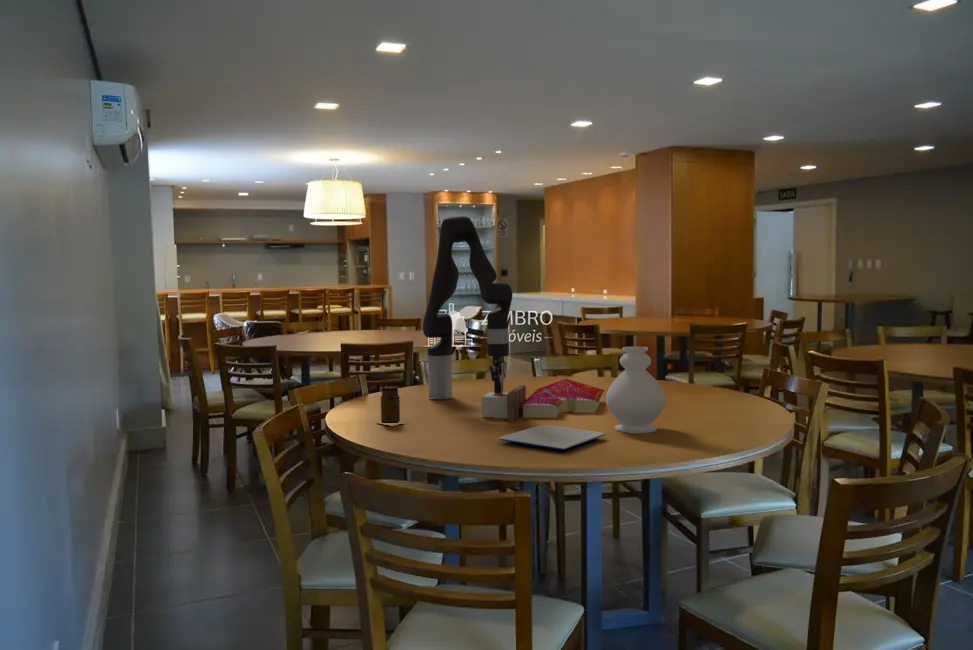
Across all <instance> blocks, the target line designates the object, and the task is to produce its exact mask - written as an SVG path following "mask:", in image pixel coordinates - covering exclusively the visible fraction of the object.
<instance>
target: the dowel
mask: <svg viewBox="0 0 973 650" xmlns="http://www.w3.org/2000/svg"><path fill="white" fill-rule="evenodd" d="M499 373H500V372H499ZM496 377H497V376H496ZM503 393H504V381H503V374H502V375H501V393H495V396H503Z"/></svg>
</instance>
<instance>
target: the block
mask: <svg viewBox="0 0 973 650" xmlns="http://www.w3.org/2000/svg"><path fill="white" fill-rule="evenodd" d="M508 393H509V392H503V396H495V392H494V391H491V392H487V393H486V394H484V395H482V396H481V418H482V417H494V418H493V419H507V394H508Z"/></svg>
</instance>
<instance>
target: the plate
mask: <svg viewBox="0 0 973 650" xmlns="http://www.w3.org/2000/svg"><path fill="white" fill-rule="evenodd" d="M606 435H607V433H605V432H600V431H594V430H589V429H588V430H585V429H579V428H572V427H566V426H558V425H557V426H556V425H550V424H540V425H536V426H533V427H529V428H526V429H523V430H519V431H516V432H513V433H509V434H506V435H503V436H499V437H498V439H499V440H500V441H504V442H510V443H515V444H521V445H528V446H533V447H534V446H535V447H539V448H547V449H553V450H558V451H561V450H563V451H565V450H568V449H570V448H573V447H576V446H579V445H581V444H584V443H587V442H591V441H593V440H596V439H598V438H601V437H604V436H606Z"/></svg>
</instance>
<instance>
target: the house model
mask: <svg viewBox="0 0 973 650" xmlns="http://www.w3.org/2000/svg"><path fill="white" fill-rule="evenodd" d="M604 392H605V389H602V388H599V387H596V386H592V385H589V384H585V383H582V382H579V381H575V380H572V379H568V378H564V379H561V380H559V381H555V382H553V383H550V384H547V385H545V386H542V387H540V388H537V389H536V390H535V391H534V392H533V393H532V394H530V395H529V396H528V397H527V398H526V400H525V401H524V402H523V403H522V404H521V405H520V406H522V405H523V414H522V417H523V418H531V419H532V418H535V419H536V418H537V419H539V418H541V419H556V418H557V417H558V416H559V414H560V413H569V412H574V413H575V412H583V414H596V412H597V411H598V408H599V406H600V404H601V398H602V396H603V393H604ZM520 406H519V407H520ZM585 412H586V413H585ZM587 412H588V413H587ZM592 412H593V413H592ZM557 415H558V416H557Z"/></svg>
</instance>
